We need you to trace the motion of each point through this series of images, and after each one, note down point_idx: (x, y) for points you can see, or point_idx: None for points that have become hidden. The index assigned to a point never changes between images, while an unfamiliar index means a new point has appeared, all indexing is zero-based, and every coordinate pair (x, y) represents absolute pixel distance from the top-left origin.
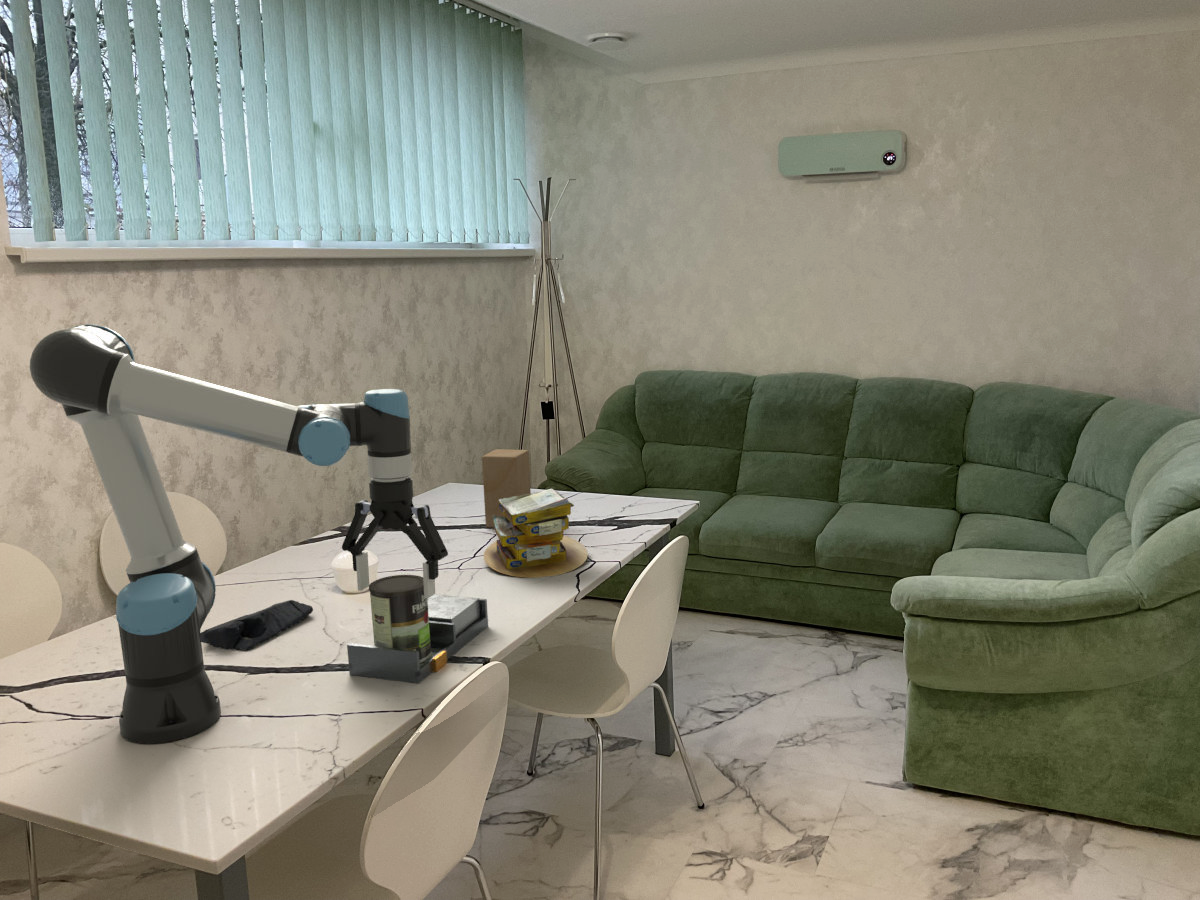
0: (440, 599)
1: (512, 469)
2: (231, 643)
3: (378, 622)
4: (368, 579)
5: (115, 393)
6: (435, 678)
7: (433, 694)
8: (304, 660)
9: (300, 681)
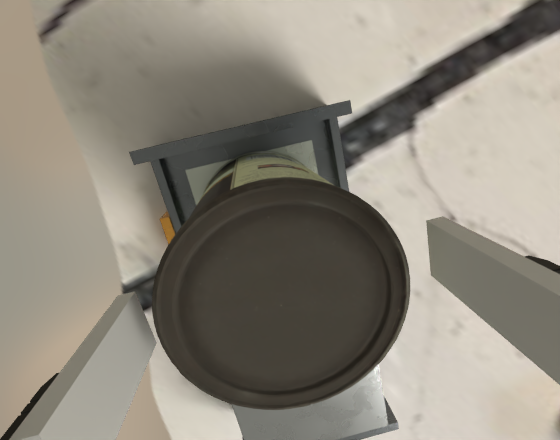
0: (330, 419)
1: None
2: None
3: (283, 164)
4: (447, 285)
5: None
6: (144, 185)
7: (79, 118)
8: (472, 116)
9: (405, 21)
